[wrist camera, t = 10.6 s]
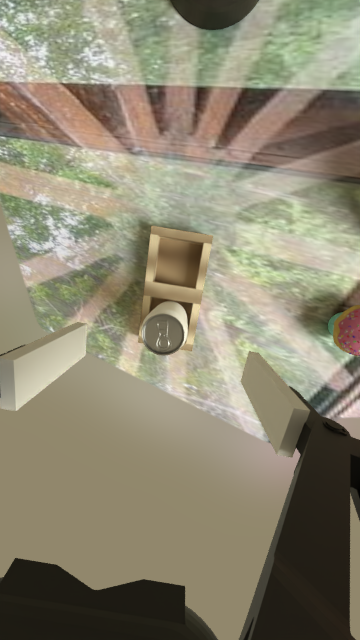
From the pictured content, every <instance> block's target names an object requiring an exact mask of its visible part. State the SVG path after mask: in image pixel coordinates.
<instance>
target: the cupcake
mask: <svg viewBox="0 0 360 640" xmlns="http://www.w3.org/2000/svg"><path fill="white" fill-rule="evenodd" d="M328 330H329V332H330V333H331V334H332V335H333V339H334V342H335V344H336V345H337V346H338V347H339V348H340V349H341V350H343V351H345V352H347V353H349V354H352V355H356V356H358V357H359V355H360V305H356V306H353V307H350V308H349V309H347V310H346V311H344V312H340V313H337V314H335V315H334V316H333V317H332V318H331V319H330V321H329V323H328Z"/></svg>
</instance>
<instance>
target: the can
mask: <svg viewBox="0 0 360 640" xmlns="http://www.w3.org/2000/svg"><path fill="white" fill-rule="evenodd" d="M141 335H142V340H143V343H144V345H145V346H146V348H147V349H148V350H150V351H151V352H153V353H155V354H157V355H170V354H173V353H175V352H176V351H178V350H179V349H180V348H181V347H182V346H183V345H184V343H185V341H186V339H187V335H188V324H187V314H186V311H185V309H184V308H183V307H182V306H181V305H180V304H179V303H177V302H174V301H165V302H163V303H161V304H159V305H158V306H157V307H156V308H155V309H153V310H152V311H151V312H150V313H149V314H148V315H147V316H146V318H145V319H144V321H143V323H142V327H141Z"/></svg>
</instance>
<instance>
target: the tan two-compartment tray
mask: <svg viewBox="0 0 360 640" xmlns="http://www.w3.org/2000/svg"><path fill="white" fill-rule="evenodd" d="M212 239H213V236H211V235H205V234H199V233H193V232H187V231H181V230H175V229H169V228H163V227H157V226H151V235H150V243H149V252H148V261H147V269H146V278H145V286H144V295H143V304H142V312H141V321H140V330H139V338H138V343H143V340H142V335H141V327H142V323H143V321H144V319H145V318H146V316H147V315H148V314H149V313H150V312H151V311H152V310H153V309H155V308H156V307H157V306H158V305H159V304H161V303H163V302H165V301H174V302H177V303H179V304H180V305H181V306H182V307H183V308H184V309H185V311H186V314H187V324H188V335H187V339H186V341H185V343H184V345H183V346H182V347H181V348H180V349H181V350H188V351H192V347H193V342H194V336H195V331H196V326H197V320H198V315H199V309H200V304H201V299H202V293H203V288H204V282H205V277H206V272H207V266H208V261H209V255H210V250H211V244H212Z"/></svg>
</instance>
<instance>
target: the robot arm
mask: <svg viewBox="0 0 360 640" xmlns="http://www.w3.org/2000/svg"><path fill="white" fill-rule="evenodd" d="M171 1H172V3H173V5H174V6H175V8H176V9H177V10H178V12H179V13H180V14H181V15H182V16H183V17H184V18H185V19H186V20H188V21H189V22H191V23H192V24H194V25H196V26H198V27H201V28H205V29H222V28H226V27H229V26H231V25H233V24H235V23H237V22H239V21H240V20H242V19H243V18H244V17H245V16H246V15H247V14H248V13H249V12H250V11H251V10H252V9H253V8H254V7H255V5H256V4H257V3H258V1H259V0H171ZM86 335H87V324H86V323H80V322H77V323H75V324H72V325H70V326H68V327H65V328H63V329H61V330H59V331H56V332H54V333H52V334H50V335H47V336H45V337H43V338H41V339H38V340H36V341H34V342H32V343H30V344H27V345H23V346H20V347H18V348H15V349H13V350H11V351H8V352H7V353H4V354H1V355H0V405H1V408H2V409H8V410H13V411H17V410H18V409H19V408H20V407H22V406H23V405H24V404H25V403H27V402H28V401H29V400H30V399H32V398H33V397H34V396H35V395H37V394H38V393H39V392H40V391H41V390H43V389H44V388H45V387H47V386H48V385H49V384H50V383H52V382H53V381H54V380H55V379H57V378H58V377H59V376H60V375H61V374H63V373H64V372H65V371H67V370H68V369H69V368H70V367H71V366H73V365H74V364H75V363H77V362H78V361H79V360H80V359H81V358H83V357H84V356H85V355H86ZM241 383H242V385H243V387H244V389H245V391H246V393H247V395H248V397H249V399H250V401H251V403H252V405H253V407H254V409H255V411H256V414H257V416H258V418H259V420H260V422H261V424H262V426H263V428H264V430H265V432H266V434H267V436H268V438H269V440H270V442H271V444H272V446H273V448H274V450H275V452H276V454H277V455H281V456H286V457H293V454H294V451H295V449H296V448H297V450H298V451H299V453H300V454H301V456H300V458H299V461H298V463H297V466H296V468H295V471H294V476H293V479H292V482H291V485H290V488H289V491H288V494H287V497H286V500H285V503H284V506H283V509H282V512H281V515H280V519H279V521H278V524H277V527H276V530H275V534H274V537H273V540H272V542H271V546H270V549H269V552H268V555H267V558H266V561H265V564H264V567H263V570H262V573H261V576H260V579H259V582H258V585H257V588H256V591H255V595H254V597H253V600H252V603H251V606H250V609H249V612H248V615H247V618H246V621H245V624H244V627H243V630H242V632H241V635H240V638H239V640H355V638H353V636H352V635H351V633H350V609H349V608H350V493H351V496H352V499H353V502H354V505H355V508H356V511H357V514H358V517H359V520H360V440H358V439H355V438H353V437H350V434H349V432H348V431H347V430H346V429H345V428H344V427H343V426H341V425H340V424H338V423H337V422H335V421H333V420H331V419H328V418H326V417H321V416H320V415H319V414H318V413H317V412H316V410H315V409H314V408H313V407H312V406H311V405H310V404H308V402H307V401H306V400H305V399H304V398H303V397H302V395H301V394H300V393H299V392H297V391H296V390H295V389H293V388H292V387H289V386H288V385H287V384H286V383H285V382H284V381H283V380H282V379H281V378H280V376H279V375H278V374H277V373H276V372H275V371H274V370H273V369H272V367H271V366H270V365H269V364H268V363H267V362H266V361H265V360H264V359H263V357H262V356H261V355H260V354H259V353H256V352H250V351H249V353H248V357H247V361H246V364H245V368H244V372H243V375H242V379H241ZM0 640H218V639H217V638H216V636H215V635H214V633H213V632H212V630H211V629H210V628H209V627H208V626H207V625H206V623H205V622H204V621H203V620H202V619H201V618H200V617H199V616H198V615H197V614H196V613H195V612H193V611H192V610H191V609H190V608H188V607H187V606H185V586H181V585H174V584H169V583H162V582H156V581H151V580H145V579H143V580H139V581H135V582H130V583H127V584H122V585H118V586H114V587H110V588H106V589H102V590H93V589H91V588H90V587H88V586H87V585H85V584H84V583H82V582H81V581H79V580H78V579H77V578H75V577H74V576H72V575H71V574H69V573H68V572H66V571H65V570H64V569H62V568H61V567H59V566H58V565H54V564H48V563H42V562H36V561H30V560H24V559H18V558H15V559H14V561H13V563H12V564H11V566H10V568H9V569H8V571H7V573H6V574H5V576H4V577H2V578H0Z"/></svg>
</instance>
